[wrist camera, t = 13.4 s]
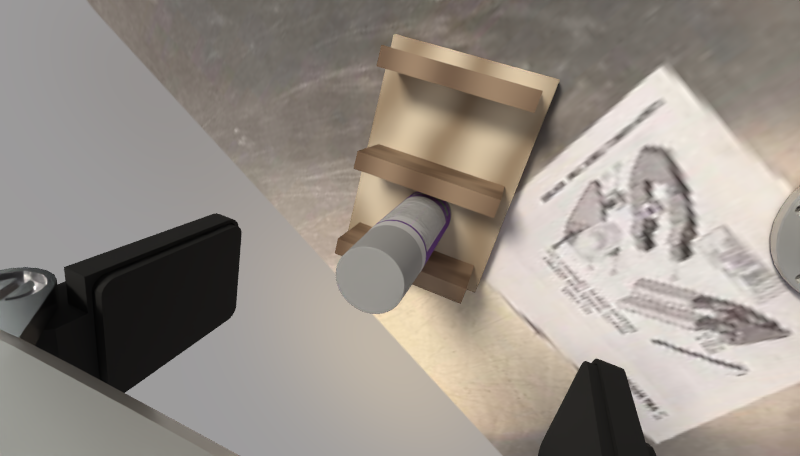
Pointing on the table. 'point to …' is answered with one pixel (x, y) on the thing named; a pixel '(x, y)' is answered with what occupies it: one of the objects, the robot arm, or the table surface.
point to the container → (392, 254)
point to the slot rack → (448, 151)
